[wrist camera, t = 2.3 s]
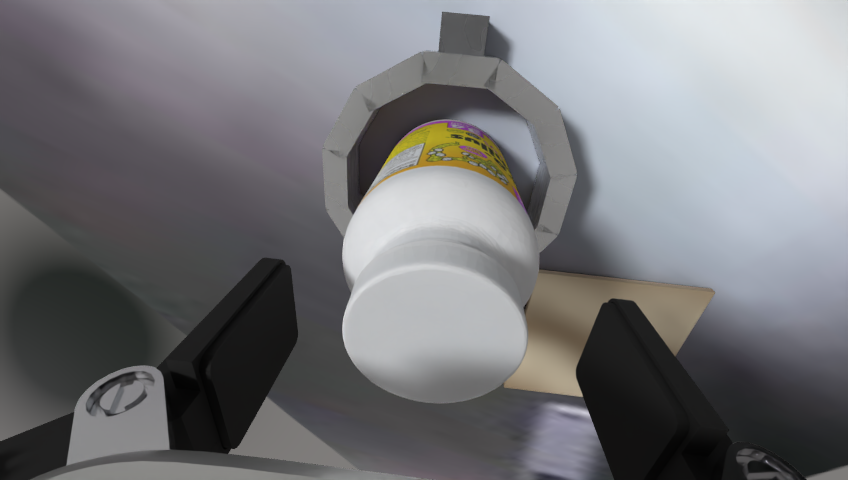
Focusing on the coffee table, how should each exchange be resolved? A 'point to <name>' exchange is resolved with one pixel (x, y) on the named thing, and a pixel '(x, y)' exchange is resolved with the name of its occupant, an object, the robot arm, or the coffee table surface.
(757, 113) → the coffee table surface
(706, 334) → the coffee table surface
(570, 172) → the collar
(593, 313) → the mat
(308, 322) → the coffee table surface
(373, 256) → the supplement bottle
